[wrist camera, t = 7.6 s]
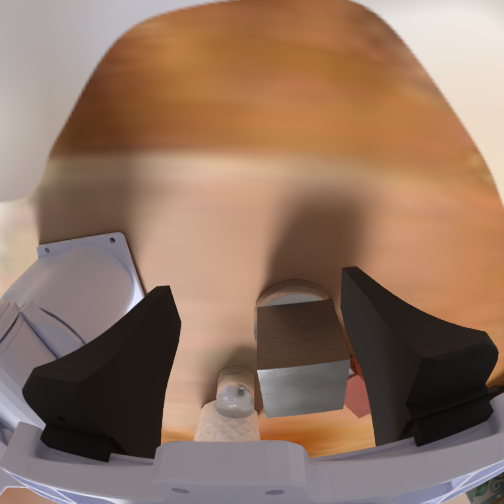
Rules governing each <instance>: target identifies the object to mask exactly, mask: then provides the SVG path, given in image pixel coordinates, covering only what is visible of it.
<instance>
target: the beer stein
mask: <svg viewBox="0 0 504 504" xmlns="http://www.w3.org/2000/svg"><path fill="white" fill-rule="evenodd" d="M488 390H489V393H488V394H487V395H486V397H487V398H488V400H489V402H490V401H491V400H492V399H493V398H494V397H496V396H498V395H500V394H502V393H504V386H494V387H492V388H489V389H488ZM465 493H466V495H467V497H468V499H469V501H470V502H471V504H504V472H502V473H500V474H499V475H497V476H495V477H493V478H492V479H490V480H488V481H486V482H484V483H482V484H480V485H479V486H477V487H475V488H473V489H471V490H469V491H467V492H465Z"/></svg>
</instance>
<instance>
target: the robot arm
mask: <svg viewBox="0 0 504 504" xmlns="http://www.w3.org/2000/svg"><path fill="white" fill-rule="evenodd" d="M111 238H114V239H115V242H114V241H112V239H111ZM47 248H48V249H49V250H48V249H47ZM36 253H37V255H38V258H39V259H38V260H37V261H35V262H34V263H33V264H32V265H31V266H30V267H29V268H28V269H27V270H26V271H25V272H24V273H23V274H22V275H21V276H20V277H19V278H18V279H17V280H16V281H15V282H14V283H13V285H12V286H11V287H10V288H9V289H8V290H7V291H6V292H5V293H4V295H3V297H2V299H1V300H0V495H1V494H2V493H3V491H4V490H5V489H6V488H7V487H21V488H29V489H30V490H32V491H33V492H35V493H36V494H39V495H41V496H43V497H45V498H48V499H50V500H52V501H55V502H57V503H59V504H441V503H444V502H446V501H448V500H450V499H452V498H455V497H457V496H459V495H461V494H463V493H465V492H467V491H469V490H471V489H473V488H475V487H477V486H479V485H480V484H482V483H484V482H486V481H488V480H490V479H492V478H493V477H495V476H497V475H499V474H500V473H502V472H504V393H502V394H500V395H498V396H496V397H494V398H493V399H492V400H491V401H490V402H489V400H488V398H487V397H486V395H487V394H488V393H489V390H488V388H487V386H486V384H485V383H486V382H487V380H488V378H489V376H490V375H491V373H492V371H493V369H494V367H495V365H496V363H497V360H498V354H499V352H498V349H497V347H496V346H495V344H494V343H493V341H492V340H491V339H490V337H489V336H488V334H487V333H486V332H484V331H480V330H475V329H471V328H466V327H462V326H459V325H456V324H453V323H449V322H447V321H444V320H441V319H439V318H436V317H434V316H432V315H429V314H427V313H425V312H423V311H421V310H419V309H417V308H415V307H413V306H412V305H410V304H408V303H406V302H405V301H403V300H401V299H400V298H398V297H397V296H395V295H394V294H392V293H391V292H389V291H388V290H387V289H385V288H384V287H383V286H381V285H380V284H379V283H377V282H376V281H375V280H373V279H372V278H371V277H369V276H368V275H367V274H366V273H364V272H363V271H362V270H361V269H359V268H358V267H356V266H354V267H345V268H342V283H341V306H340V308H341V312H342V316H343V320H344V324H345V328H346V331H347V333H348V336H349V338H350V341H351V344H352V346H353V349H354V351H355V354H356V357H357V359H358V362H359V365H360V367H361V371H362V374H363V377H364V382H365V386H366V390H367V395H368V400H369V405H370V410H371V416H372V422H373V428H374V435H375V444H376V447H372V448H368V449H363V450H358V451H353V452H347V453H342V454H336V455H329V456H323V457H315V458H308V453H307V452H306V450H305V449H304V448H303V446H301V445H299V444H296V443H292V442H289V441H283V440H259V441H229V442H208V441H172V442H166V443H164V444H162V445H161V429H162V418H163V408H164V400H165V393H166V388H167V383H168V380H169V376H170V372H171V369H172V365H173V362H174V358H175V354H176V351H177V347H178V343H179V337H180V330H181V320H180V317H179V314H178V311H177V308H176V305H175V301H174V298H173V295H172V292H171V289H170V285H168V286H156V287H155V288H154V289H153V290H151V291H150V292H149V293H148V294H147V295H146V296H144V293H143V290H142V287H141V284H140V282H139V279H138V276H137V273H136V270H135V267H134V264H133V261H132V258H131V255H130V251H129V248H128V245H127V242H126V239H125V236H124V235H123V234H122V233H121V232H115V233H108V234H102V235H96V236H89V237H83V238H77V239H71V240H66V241H60V242H54V243H49V244H43V245H39V246H38V247H37V248H36Z"/></svg>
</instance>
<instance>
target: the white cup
mask: <svg viewBox="0 0 504 504" xmlns="http://www.w3.org/2000/svg"><path fill="white" fill-rule="evenodd" d="M215 404H216V400H214V401H211V402H209V403H207V404H205V405H204V406H203V408H202V409H201V410H200V415H199V420H198V426H197V428H196V432H195V436H194V441H208V442H229V441H259V440H260V433H259V428H258V413H257V411H256V410H255V409H254V412H253V413H252V414H251V415H250V416H248V417H245V418H240V419H233V418H227V417H224V416H222V415H220V414H219V413H218V412H217V411H216V409H215Z"/></svg>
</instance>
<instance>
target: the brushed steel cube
mask: <svg viewBox="0 0 504 504" xmlns="http://www.w3.org/2000/svg"><path fill="white" fill-rule="evenodd" d="M350 360H351V359H350V356H349V352H348V349H347V346H346V342H345V339H344V336H343V333H342V330H341V327H340V323H339V320H338V317H337V314H336V311H335V308H334V305H333V302H332V299H326V300H318V301H309V302H300V303H291V304H282V305H272V306H262V307H257V372H258V377H259V383H260V389H261V394H262V400H263V405H264V411H265V416H266V418H271V417H283V416H293V415H302V414H311V413H318V412H326V411H332V410H339V409H343V405H344V400H345V394H346V388H347V381H348V375H349V368H350Z"/></svg>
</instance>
